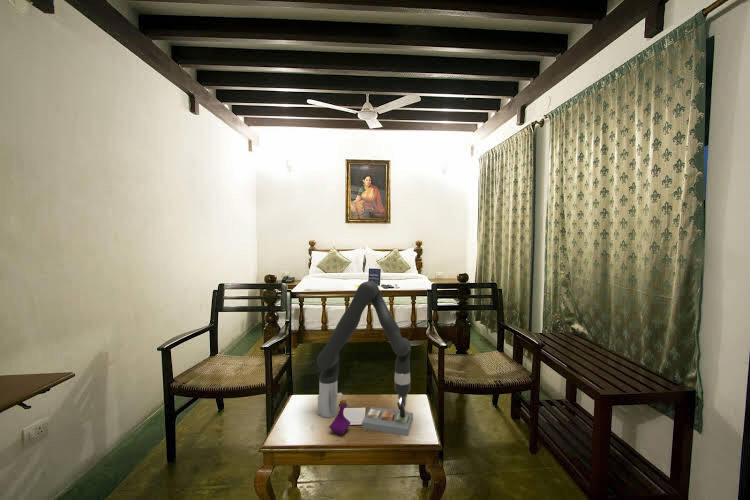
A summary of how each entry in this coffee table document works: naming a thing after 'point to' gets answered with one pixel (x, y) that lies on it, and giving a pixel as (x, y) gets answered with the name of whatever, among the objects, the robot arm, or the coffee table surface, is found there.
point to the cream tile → (374, 414)
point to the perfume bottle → (340, 419)
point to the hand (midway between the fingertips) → (402, 416)
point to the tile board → (387, 423)
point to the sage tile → (402, 418)
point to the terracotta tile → (388, 416)
